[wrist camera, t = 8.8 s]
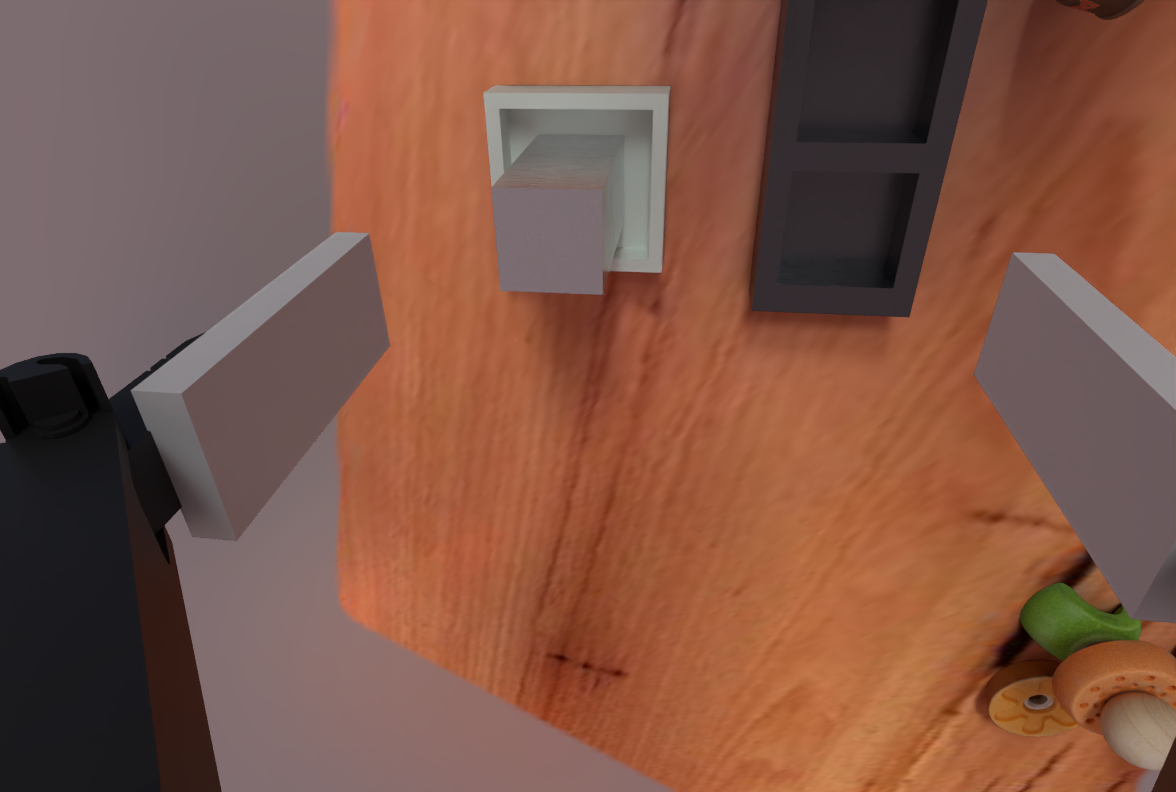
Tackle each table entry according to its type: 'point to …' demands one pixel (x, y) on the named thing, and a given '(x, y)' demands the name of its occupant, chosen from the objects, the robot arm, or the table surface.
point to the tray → (596, 112)
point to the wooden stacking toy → (1089, 680)
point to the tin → (1103, 7)
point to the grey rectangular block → (560, 214)
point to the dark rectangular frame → (857, 150)
